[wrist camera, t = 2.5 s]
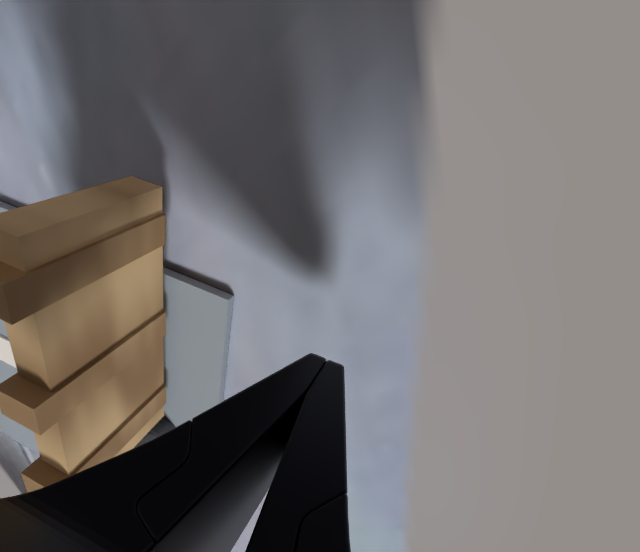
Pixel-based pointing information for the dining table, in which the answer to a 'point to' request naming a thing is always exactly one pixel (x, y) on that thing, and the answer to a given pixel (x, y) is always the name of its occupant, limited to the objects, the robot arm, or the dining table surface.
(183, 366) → the card
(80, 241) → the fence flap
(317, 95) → the dining table surface
